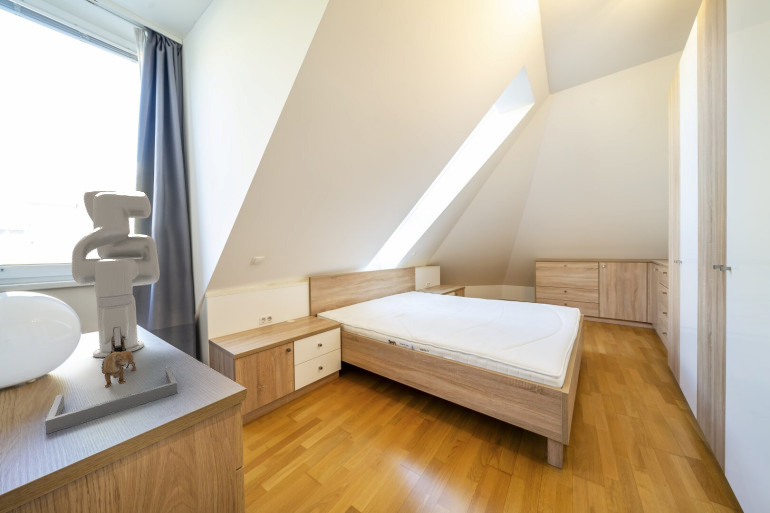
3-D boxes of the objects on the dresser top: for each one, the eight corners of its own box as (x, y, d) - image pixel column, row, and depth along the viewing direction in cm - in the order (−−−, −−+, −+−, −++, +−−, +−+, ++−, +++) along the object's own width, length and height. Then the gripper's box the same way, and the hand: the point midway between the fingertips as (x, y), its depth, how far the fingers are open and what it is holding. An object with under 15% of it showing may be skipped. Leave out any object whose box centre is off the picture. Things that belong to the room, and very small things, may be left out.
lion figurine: (128, 387, 69) (126, 352, 69) (99, 394, 66) (96, 357, 66) (138, 367, 81) (136, 337, 81) (113, 372, 78) (111, 341, 78)
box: (57, 406, 61) (56, 395, 61) (170, 375, 75) (169, 366, 75) (46, 434, 52) (45, 421, 52) (177, 393, 66) (176, 382, 66)
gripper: (98, 300, 82) (102, 360, 83) (95, 307, 72) (99, 376, 72) (132, 296, 88) (135, 353, 88) (133, 302, 77) (137, 366, 77)
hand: (119, 363), depth 80 cm, fingers closed
